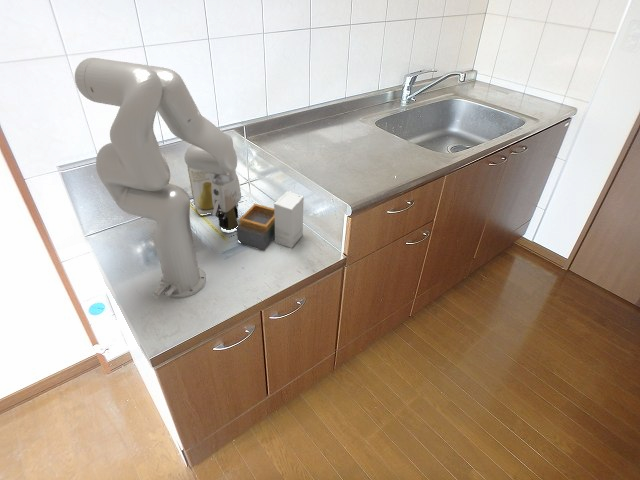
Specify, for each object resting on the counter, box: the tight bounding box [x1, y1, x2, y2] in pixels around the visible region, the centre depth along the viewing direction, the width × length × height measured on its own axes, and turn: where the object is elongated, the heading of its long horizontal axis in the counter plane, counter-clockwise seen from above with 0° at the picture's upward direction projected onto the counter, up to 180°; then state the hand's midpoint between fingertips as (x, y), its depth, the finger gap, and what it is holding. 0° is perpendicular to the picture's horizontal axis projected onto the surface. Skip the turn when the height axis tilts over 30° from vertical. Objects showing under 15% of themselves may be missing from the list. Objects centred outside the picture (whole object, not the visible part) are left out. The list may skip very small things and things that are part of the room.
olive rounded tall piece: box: [220, 206, 239, 230], centre depth 135 cm, size 6×6×11 cm
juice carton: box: [186, 165, 214, 214], centre depth 139 cm, size 9×8×24 cm
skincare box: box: [273, 191, 305, 249], centre depth 130 cm, size 8×7×16 cm
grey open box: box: [236, 203, 275, 252], centre depth 134 cm, size 14×10×8 cm
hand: (229, 221), depth 137 cm, fingers open, 5 cm apart
